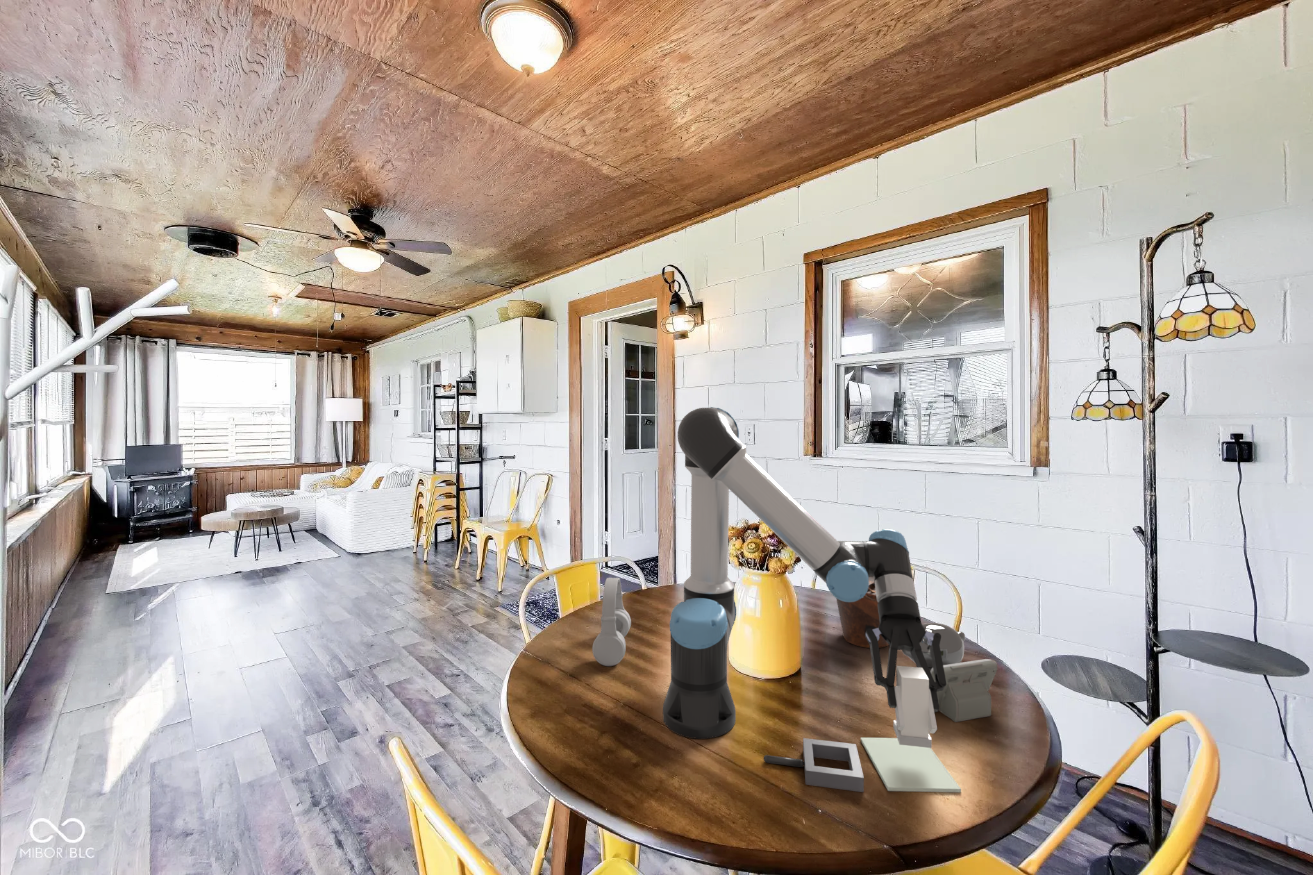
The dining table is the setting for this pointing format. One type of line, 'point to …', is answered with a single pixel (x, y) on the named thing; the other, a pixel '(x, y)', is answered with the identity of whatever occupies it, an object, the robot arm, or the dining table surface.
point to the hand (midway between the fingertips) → (917, 729)
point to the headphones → (612, 626)
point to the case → (860, 617)
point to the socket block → (825, 775)
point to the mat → (908, 766)
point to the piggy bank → (942, 644)
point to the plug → (913, 707)
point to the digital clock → (967, 689)
